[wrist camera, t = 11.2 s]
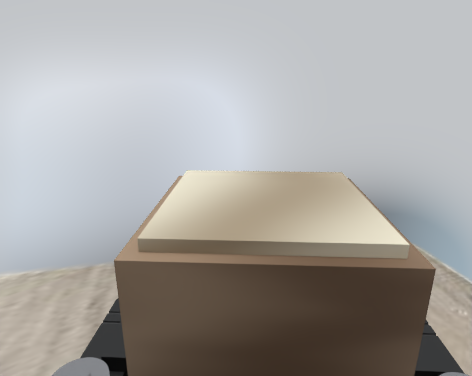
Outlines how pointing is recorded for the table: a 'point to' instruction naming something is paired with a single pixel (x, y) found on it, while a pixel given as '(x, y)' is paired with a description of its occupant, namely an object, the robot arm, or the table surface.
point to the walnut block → (270, 281)
